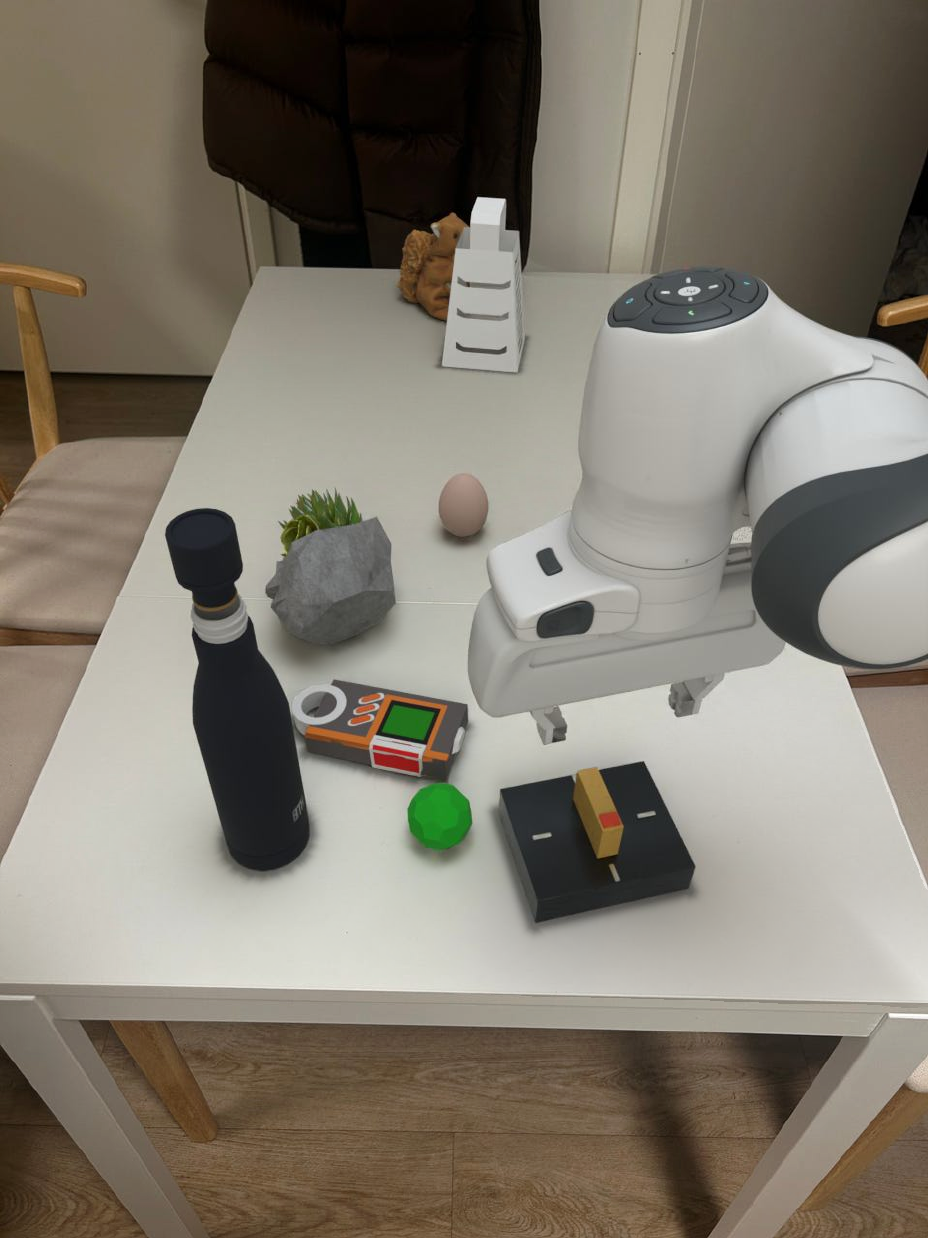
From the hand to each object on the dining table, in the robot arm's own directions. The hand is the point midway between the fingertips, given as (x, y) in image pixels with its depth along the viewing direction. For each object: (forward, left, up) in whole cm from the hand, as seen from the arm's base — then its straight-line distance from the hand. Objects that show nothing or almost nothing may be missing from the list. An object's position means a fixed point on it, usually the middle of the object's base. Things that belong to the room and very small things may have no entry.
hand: (617, 722), depth 63 cm
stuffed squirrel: (-10, -98, -15) cm, 99 cm away
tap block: (0, 0, -14) cm, 14 cm away
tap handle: (0, 0, -11) cm, 11 cm away
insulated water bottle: (+24, -7, -15) cm, 29 cm away
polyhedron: (+11, -4, -15) cm, 19 cm away
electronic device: (+14, -15, -15) cm, 25 cm away
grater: (-13, -81, -15) cm, 83 cm away
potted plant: (+16, -32, -15) cm, 39 cm away
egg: (0, -41, -15) cm, 43 cm away
